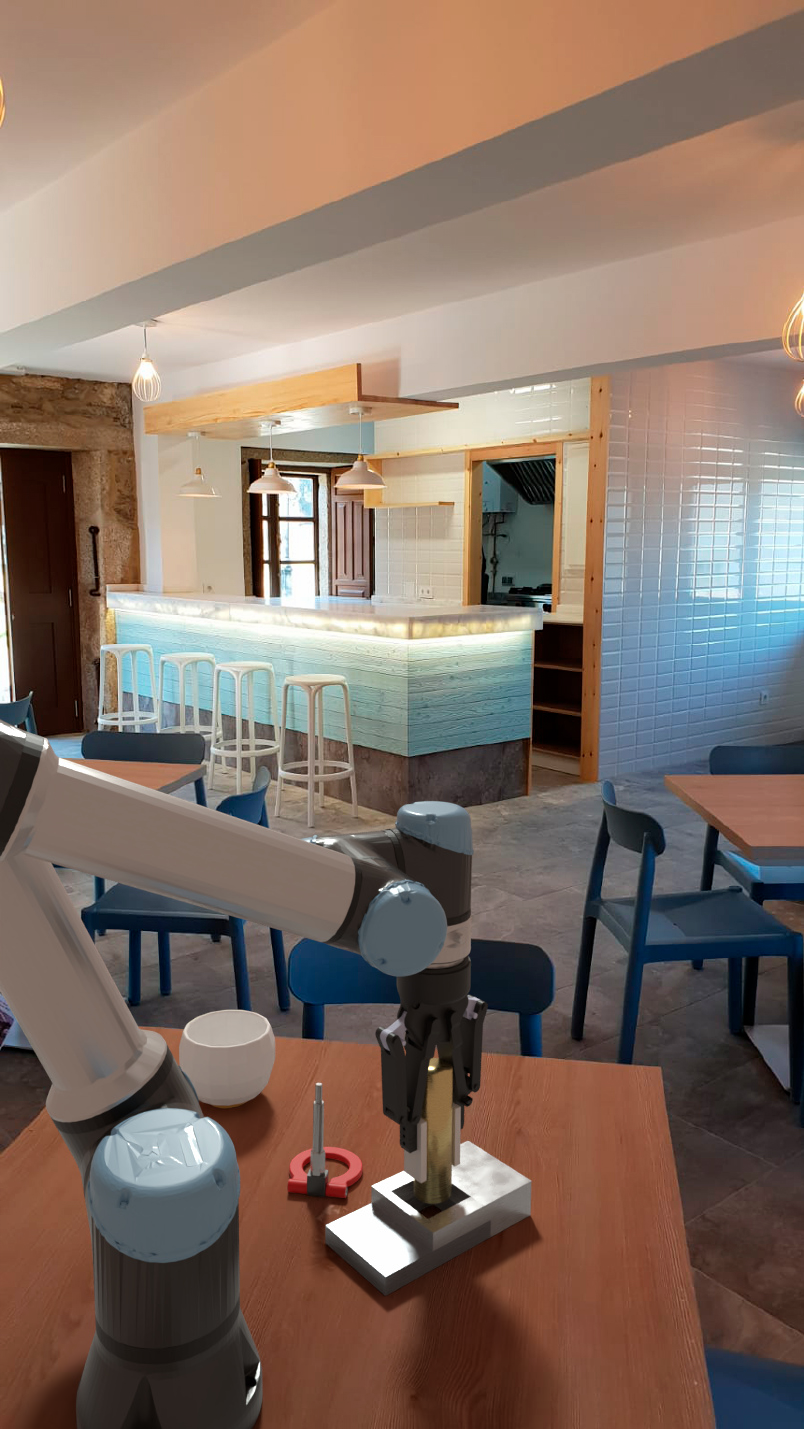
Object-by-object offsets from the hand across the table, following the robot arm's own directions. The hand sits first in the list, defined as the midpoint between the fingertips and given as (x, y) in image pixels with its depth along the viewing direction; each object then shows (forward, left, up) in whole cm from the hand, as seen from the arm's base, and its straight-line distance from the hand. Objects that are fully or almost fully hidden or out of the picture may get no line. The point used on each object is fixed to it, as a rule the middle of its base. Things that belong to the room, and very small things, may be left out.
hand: (432, 1167), depth 109 cm
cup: (-3, +37, -7) cm, 38 cm away
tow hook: (-3, +15, -7) cm, 17 cm away
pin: (0, 0, -3) cm, 3 cm away
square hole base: (0, 0, -7) cm, 7 cm away
